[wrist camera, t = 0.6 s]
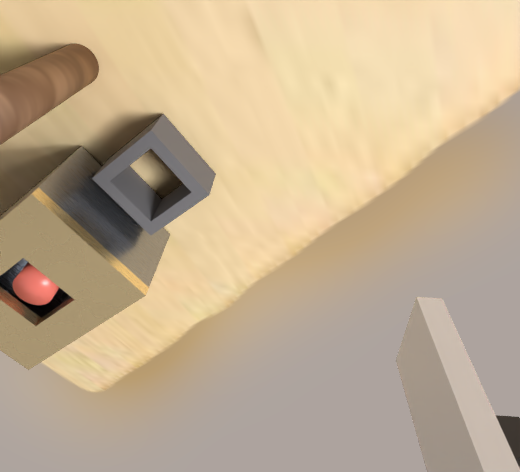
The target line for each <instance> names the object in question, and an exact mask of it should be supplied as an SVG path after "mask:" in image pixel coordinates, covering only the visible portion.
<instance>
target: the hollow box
mask: <svg viewBox="0 0 520 472" xmlns="http://www.w3.org/2000/svg"><path fill="white" fill-rule="evenodd" d="M101 167H102V166H101V165H100V164H99V163H98V162H97V161H96V160H95V159H94V158H93V157H92V156H91V155H90V154H89V153H88V152H87V151H86V150H85V149H84V148H83V147H82V146H81V147H80V148H78V149H77V150H76V151H75V152H74V153H73V154H72V155H70V156H69V157H68V158H67V159H66V160H65V161H63V162H62V163H61V164H60V165H59V166H58V167H57V168H55V169H54V170H53V171H52V172H51V173H50V174H48V175H47V176H46V177H45V178H44V179H43V180H42V181H40V182H39V183H38V184H37V185H36V186H35V187H33V188H32V189H31V190H30V191H29V192H28V193H27V194H25V195H24V196H23V197H22V198H21V199H20V200H18V201H17V202H16V203H15V204H14V205H13V206H11V207H10V208H9V209H8V210H7V211H6V212H5V213H3V214H2V215H1V216H0V350H1V351H2V352H4V353H5V354H7V355H8V356H9V357H11V358H12V359H14V360H15V361H16V362H18V363H19V364H21V365H22V366H24V367H25V368H27V369H28V370H29V369H31V368H32V367H34V366H35V365H37V364H39V363H40V362H42V361H43V360H45V359H46V358H48V357H50V356H51V355H53V354H54V353H56V352H57V351H59V350H61V349H62V348H64V347H65V346H67V345H69V344H70V343H72V342H73V341H75V340H76V339H78V338H80V337H81V336H83V335H84V334H86V333H87V332H89V331H91V330H92V329H94V328H95V327H97V326H98V325H100V324H102V323H103V322H105V321H106V320H108V319H109V318H111V317H113V316H114V315H116V314H117V313H119V312H120V311H122V310H124V309H125V308H127V307H128V306H130V305H131V304H133V303H135V302H136V301H138V300H139V299H141V298H142V297H144V296H146V293H147V291H148V288H149V286H150V283H151V281H152V278H153V276H154V273H155V271H156V268H157V266H158V263H159V261H160V258H161V256H162V253H163V251H164V248H165V246H166V243H167V241H168V238H169V236H170V234H169V233H168V232H167V231H166V230H165V229H164V228H161V229H160V230H158V231H157V232H155V233H154V234H153V235H151V236H150V235H149V234H148V233H147V232H146V231H145V230H144V229H143V228H142V227H141V226H140V225H139V224H138V223H137V222H136V221H135V220H134V219H133V218H132V217H131V216H130V215H129V214H128V213H127V212H126V211H125V210H124V209H123V208H122V207H121V206H120V205H119V204H118V203H117V202H116V201H115V200H113V199H112V198H111V197H110V196H109V195H108V194H107V193H106V192H105V191H104V190H103V189H102V188H101V187H100V186H99V185H98V184H97V183H96V182H95V181H94V180H93V179H92V178H93V177H94V175H95V174H96V173H97V172H98V171H99V170H100V168H101ZM28 262H29V263H30V264H31V265H33V266H34V267H35V268H36V269H37V270H39V271H40V272H41V273H42V274H44V275H45V276H46V277H47V278H49V279H50V280H51V281H52V282H53V283H55V284H56V285H57V286H58V287H60V288H59V289H58V291H57V292H56V294H55V295H54V297H53V298H52V300H51V301H50V302H49V303H47V304H44V305H33V304H30V303H27V302H25V301H23V300H22V299H20V298H19V297H18V296H17V295H16V293H15V292H14V290H13V281H14V279H15V278H16V276H17V275H18V274H19V273H20V272H21V270H22V269H23V268H24V267H25V265H26V264H27V263H28Z"/></svg>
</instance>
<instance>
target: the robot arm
mask: <svg viewBox="0 0 520 472" xmlns="http://www.w3.org/2000/svg"><path fill="white" fill-rule="evenodd" d="M396 362H397V366H398V369H399V373H400V376H401V380H402V384H403V387H404V390H405V394H406V398H407V402H408V405H409V409H410V412H411V416H412V420H413V423H414V427H415V430H416V434H417V437H418V441H419V445H420V448H421V451H422V455H423V459H424V463H425V466H426V470H427V472H520V418H519V417H511V416H496V415H495V413H494V411H493V409H492V407H491V405H490V402H489V400H488V398H487V396H486V394H485V391H484V390H483V387H482V385H481V383H480V380H479V378H478V376H477V374H476V372H475V369H474V367H473V365H472V363H471V361H470V358H469V356H468V354H467V352H466V350H465V347H464V345H463V343H462V341H461V339H460V336H459V334H458V332H457V330H456V328H455V325H454V323H453V322H452V319H451V317H450V314H449V312H448V310H447V308H446V306H445V304H444V301H443V299H440V298H425V297H417V298H416V300H415V303H414V306H413V309H412V312H411V315H410V319H409V322H408V325H407V328H406V331H405V334H404V337H403V340H402V343H401V346H400V349H399V352H398V355H397V358H396Z"/></svg>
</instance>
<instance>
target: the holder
mask: <svg viewBox="0 0 520 472" xmlns="http://www.w3.org/2000/svg"><path fill="white" fill-rule="evenodd" d="M149 149H152V150H153V151H154V152H155V153H156V154H157V155H158V156H159V157H160V159H161V160H162V161H163V162H164V163H165V164H166V165H167V166H168V167H169V168H170V169H171V171H172V172H173V173H174V174H175V175H176V176H177V177H178V178H179V179H180V180H181V181H182V182H183V184H182V185H181V186H179V187H178V188H177V189H175V190H174V191H172V192H171V193H170V194H168V195H167V196H166V197H164V198H163V199H161V198H160V197H159V196H158V195H157V194H156V193H155V192H154V191H153V190H152V189H151V188H150V187H149V185H148V184H147V183H146V182H145V181H144V180H143V179H142V178H141V177H140V176H139V175H138V174H137V173H136V172H135V171H134V170H133V169H132V168H131V167H130V166H129V165H131V164H132V163H133V162H134V161H136V160H137V159H138V158H139V157H141V156H142V155H143V154H144V153H146V152H147V151H148V150H149ZM215 175H216V174H215V172H214V171H213V170H212V169H211V168H210V167H209V166H208V164H207V163H206V162H205V161H204V160H203V159H202V158H201V156H200V155H199V154H198V153H197V152H196V151H195V150H194V148H193V147H192V146H191V145H190V144H189V143H188V142H187V140H186V139H185V138H184V137H183V136H182V135H181V133H180V132H179V131H178V130H177V129H176V128H175V127H174V125H173V124H172V123H171V122H170V121H169V120H168V119H167V117H166V116H165V115H164V114H162V115H161V116H160V117H159V118H158V119H156V120H155V121H154V122H153V123H151V124H150V125H149V126H148V127H147V128H145V129H144V130H143V131H142V132H141V133H139V134H138V135H137V136H136V137H134V138H133V139H132V140H131V141H130V142H128V143H127V144H126V145H125V146H124V147H122V148H121V149H120V150H119V151H117V152H116V153H115V154H114V155H113V156H111V157H110V158H109V159H108V160H107V161H106V162H105V164H104V165H103V166H102V167H101V168H100V170H99V171H98V172H97V173H96V174H95V175H94V177H93V178H92V179H93V180H94V181H95V182H96V183H97V184H98V185H99V186H100V187H101V188H102V189H103V190H104V191H105V192H106V193H107V194H108V195H109V196H110V197H111V198H112V199H113V200H115V201H116V202H117V203H118V204H119V205H120V206H121V207H122V208H123V209H124V210H125V211H126V212H127V213H128V214H129V215H130V216H131V217H132V218H133V219H134V220H135V221H136V222H137V223H138V224H139V225H140V226H141V227H142V228H143V229H144V230H145V231H146V232H147V233H148V234H149V235H150V236H151V235H153V234H154V233H155V232H157V231H158V230H160V229H161V228H163V227H164V226H166V225H167V224H168V223H170V222H171V221H173V220H174V219H176V218H177V217H178V216H180V215H181V214H183V213H184V212H186V211H187V210H188V209H190V208H191V207H193V206H194V205H196V204H197V203H198V202H200V201H201V200H203V199H204V198H206V197H207V196H208V195H209V194H210V191H211V188H212V185H213V181H214V178H215Z"/></svg>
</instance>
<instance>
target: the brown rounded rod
mask: <svg viewBox="0 0 520 472" xmlns="http://www.w3.org/2000/svg"><path fill="white" fill-rule="evenodd" d="M98 71H99V66H98V62H97V59H96V57H95V56H94V54H93V53H92V52H91V51H90V50H89V49H88V48H86V47H85V46H82V45H79V44H71V45H68V46H65V47H63V48H61V49H59V50H56V51H54V52H52V53H49V54H47V55H45V56H43V57H40V58H38V59H36V60H33V61H31V62H29V63H27V64H24V65H22V66H20V67H17V68H15V69H13V70H11V71H8V72H6V73H4V74H1V75H0V145H1V144H2V143H4V142H5V141H7V140H8V139H9V138H11V137H12V136H14V135H15V134H17V133H18V132H20V131H21V130H23V129H24V128H26V127H27V126H29V125H30V124H31V123H33V122H34V121H36V120H37V119H39V118H40V117H42V116H43V115H45V114H46V113H48V112H49V111H50V110H52V109H53V108H55V107H56V106H58V105H59V104H61V103H62V102H64V101H65V100H67V99H68V98H70V97H71V96H72V95H74V94H75V93H77V92H78V91H80V90H81V89H83V88H84V87H86V86H87V85H89V84H90V83H92V82H93V81H94V80H95V79H96V77H97V75H98Z"/></svg>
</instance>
